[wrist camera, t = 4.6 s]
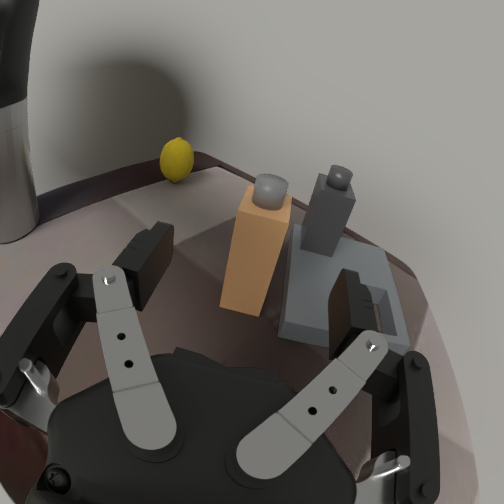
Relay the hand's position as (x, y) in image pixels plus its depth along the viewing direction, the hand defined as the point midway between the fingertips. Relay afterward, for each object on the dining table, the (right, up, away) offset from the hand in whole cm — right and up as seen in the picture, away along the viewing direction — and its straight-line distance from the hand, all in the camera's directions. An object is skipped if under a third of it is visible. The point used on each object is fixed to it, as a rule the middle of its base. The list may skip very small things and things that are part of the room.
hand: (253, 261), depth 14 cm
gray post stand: (+10, -4, +20) cm, 23 cm away
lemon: (-13, +12, +34) cm, 38 cm away
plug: (-1, -4, +17) cm, 18 cm away
